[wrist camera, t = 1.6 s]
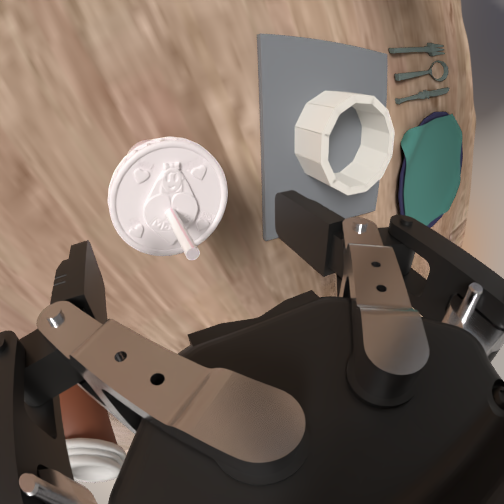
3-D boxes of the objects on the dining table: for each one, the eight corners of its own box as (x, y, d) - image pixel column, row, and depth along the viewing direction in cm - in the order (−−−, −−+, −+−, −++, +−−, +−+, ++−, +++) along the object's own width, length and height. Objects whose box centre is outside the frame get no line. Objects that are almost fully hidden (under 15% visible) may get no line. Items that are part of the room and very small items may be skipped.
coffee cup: (38, 364, 25) (40, 457, 16) (110, 366, 30) (130, 457, 21) (52, 406, 29) (61, 484, 20) (112, 406, 33) (132, 483, 24)
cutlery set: (388, 248, 43) (399, 255, 41) (372, 43, 25) (387, 43, 23) (450, 201, 47) (460, 205, 45) (447, 43, 29) (459, 45, 27)
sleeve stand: (256, 34, 20) (285, 26, 16) (383, 54, 25) (415, 56, 22) (263, 238, 31) (286, 261, 27) (371, 208, 36) (397, 223, 33)
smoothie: (110, 203, 22) (120, 318, 11) (108, 124, 19) (101, 162, 8) (184, 196, 25) (258, 294, 14) (188, 122, 22) (278, 157, 11)
